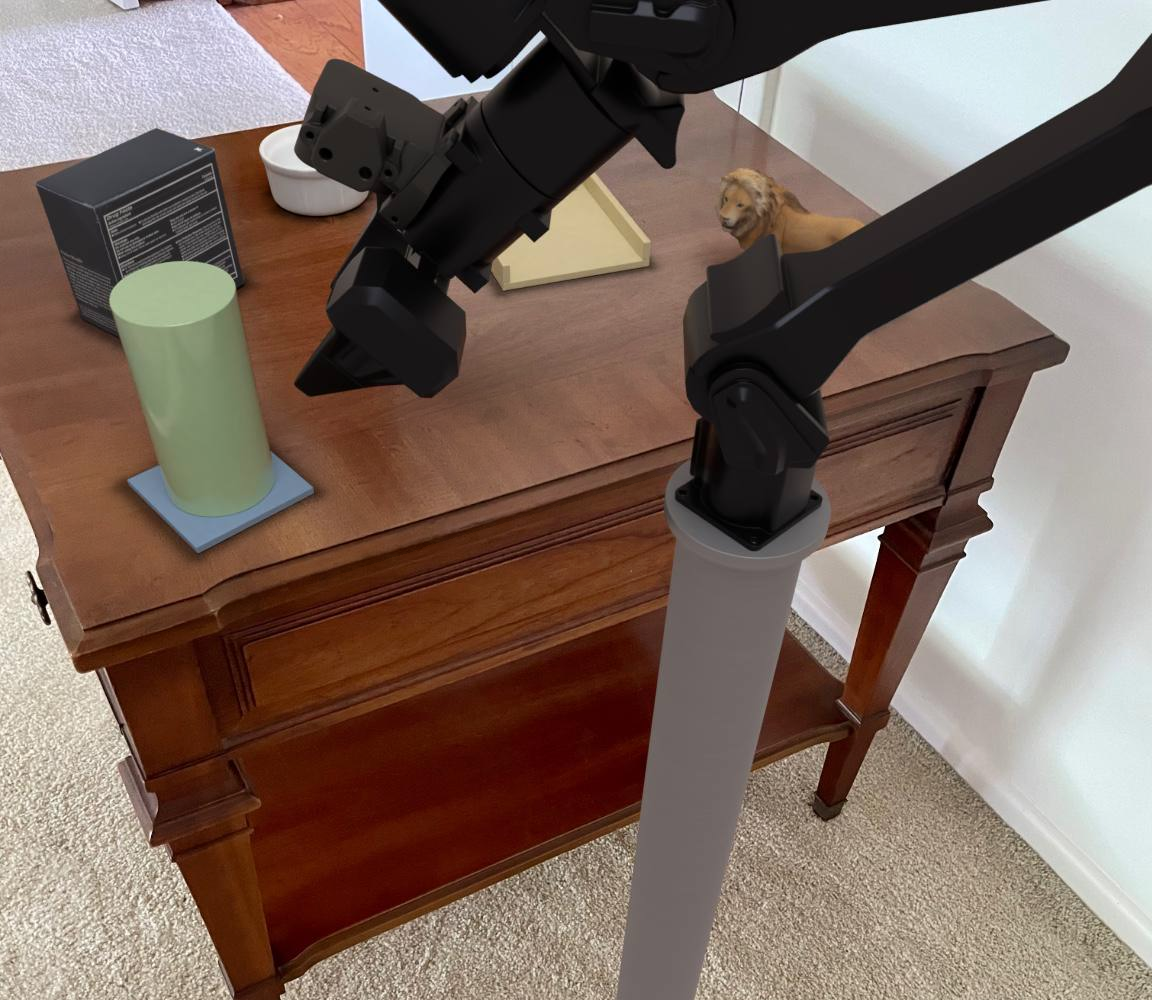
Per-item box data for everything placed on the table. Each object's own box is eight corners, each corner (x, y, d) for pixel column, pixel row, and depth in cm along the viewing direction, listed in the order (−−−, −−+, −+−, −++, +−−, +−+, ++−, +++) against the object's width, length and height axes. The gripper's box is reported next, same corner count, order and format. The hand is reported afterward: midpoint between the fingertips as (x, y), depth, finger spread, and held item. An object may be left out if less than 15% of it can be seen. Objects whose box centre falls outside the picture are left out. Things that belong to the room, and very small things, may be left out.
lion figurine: (698, 295, 86) (712, 182, 79) (713, 261, 89) (728, 150, 83) (893, 331, 83) (924, 217, 77) (901, 295, 87) (931, 182, 80)
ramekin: (267, 174, 97) (258, 124, 94) (371, 168, 98) (366, 118, 95) (268, 225, 91) (258, 173, 88) (379, 217, 92) (374, 166, 89)
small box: (188, 257, 87) (155, 122, 80) (248, 284, 85) (221, 147, 77) (75, 318, 81) (28, 177, 73) (137, 349, 79) (95, 207, 71)
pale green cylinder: (265, 440, 71) (225, 252, 62) (284, 504, 67) (244, 314, 58) (160, 460, 70) (103, 270, 60) (173, 527, 66) (114, 335, 56)
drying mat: (314, 493, 69) (313, 487, 68) (197, 554, 65) (195, 548, 65) (243, 431, 73) (241, 425, 72) (128, 485, 69) (126, 479, 68)
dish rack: (649, 266, 88) (654, 211, 85) (503, 291, 85) (502, 234, 82) (585, 185, 97) (587, 132, 94) (451, 205, 94) (448, 151, 91)
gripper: (423, -59, 55) (238, 150, 63) (352, 102, 42) (131, 340, 50) (580, 112, 61) (392, 284, 69) (559, 300, 48) (331, 485, 56)
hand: (320, 338), depth 61 cm, fingers open, 9 cm apart
